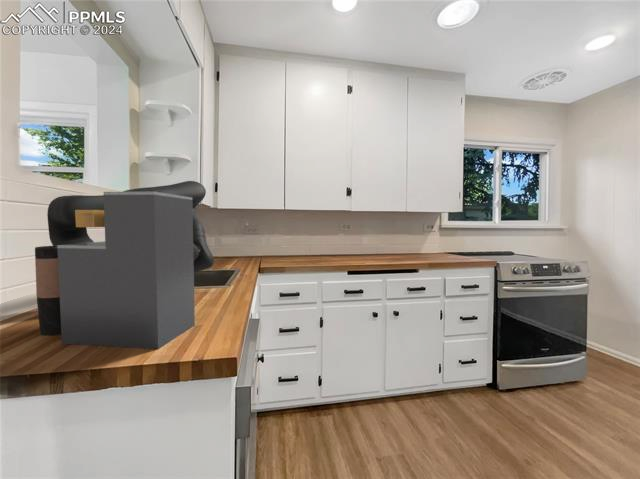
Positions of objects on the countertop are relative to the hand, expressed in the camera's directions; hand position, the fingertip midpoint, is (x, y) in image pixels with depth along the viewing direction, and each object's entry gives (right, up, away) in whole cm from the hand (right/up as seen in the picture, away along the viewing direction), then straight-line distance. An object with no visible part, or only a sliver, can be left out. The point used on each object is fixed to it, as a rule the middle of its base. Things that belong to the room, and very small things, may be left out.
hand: (139, 214), depth 77 cm
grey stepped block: (+4, -29, -9) cm, 30 cm away
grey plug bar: (-1, -3, -5) cm, 6 cm away
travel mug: (-15, -28, -7) cm, 33 cm away
